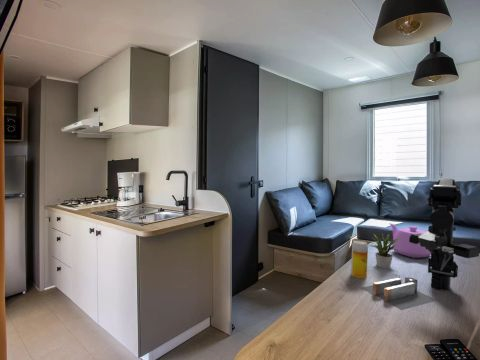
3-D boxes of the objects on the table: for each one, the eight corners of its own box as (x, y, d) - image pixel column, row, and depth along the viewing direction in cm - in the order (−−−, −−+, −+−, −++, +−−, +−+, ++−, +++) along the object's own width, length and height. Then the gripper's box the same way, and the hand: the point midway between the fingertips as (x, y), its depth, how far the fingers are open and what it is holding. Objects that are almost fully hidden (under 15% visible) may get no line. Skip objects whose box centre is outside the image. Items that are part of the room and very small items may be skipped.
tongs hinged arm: (409, 287, 106) (409, 276, 106) (421, 292, 102) (422, 281, 102) (374, 295, 99) (375, 284, 99) (386, 301, 95) (387, 289, 94)
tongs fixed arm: (398, 288, 105) (398, 277, 105) (401, 289, 104) (401, 278, 104) (372, 294, 100) (372, 282, 100) (375, 295, 99) (376, 284, 99)
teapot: (443, 256, 146) (445, 228, 145) (414, 261, 139) (416, 231, 138) (404, 244, 167) (405, 220, 166) (377, 248, 160) (378, 222, 159)
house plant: (405, 277, 119) (407, 239, 118) (369, 272, 123) (371, 235, 122) (399, 265, 132) (400, 231, 131) (367, 261, 137) (368, 228, 136)
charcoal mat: (393, 283, 112) (394, 280, 112) (437, 302, 97) (437, 300, 97) (360, 290, 105) (360, 287, 105) (401, 312, 90) (401, 309, 90)
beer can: (368, 281, 114) (369, 245, 113) (352, 279, 115) (353, 243, 114) (364, 275, 120) (366, 240, 119) (349, 274, 121) (350, 240, 120)
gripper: (399, 219, 97) (397, 263, 98) (458, 232, 79) (455, 285, 80) (420, 217, 101) (418, 260, 102) (481, 229, 84) (478, 279, 85)
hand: (439, 270), depth 92 cm, fingers closed
